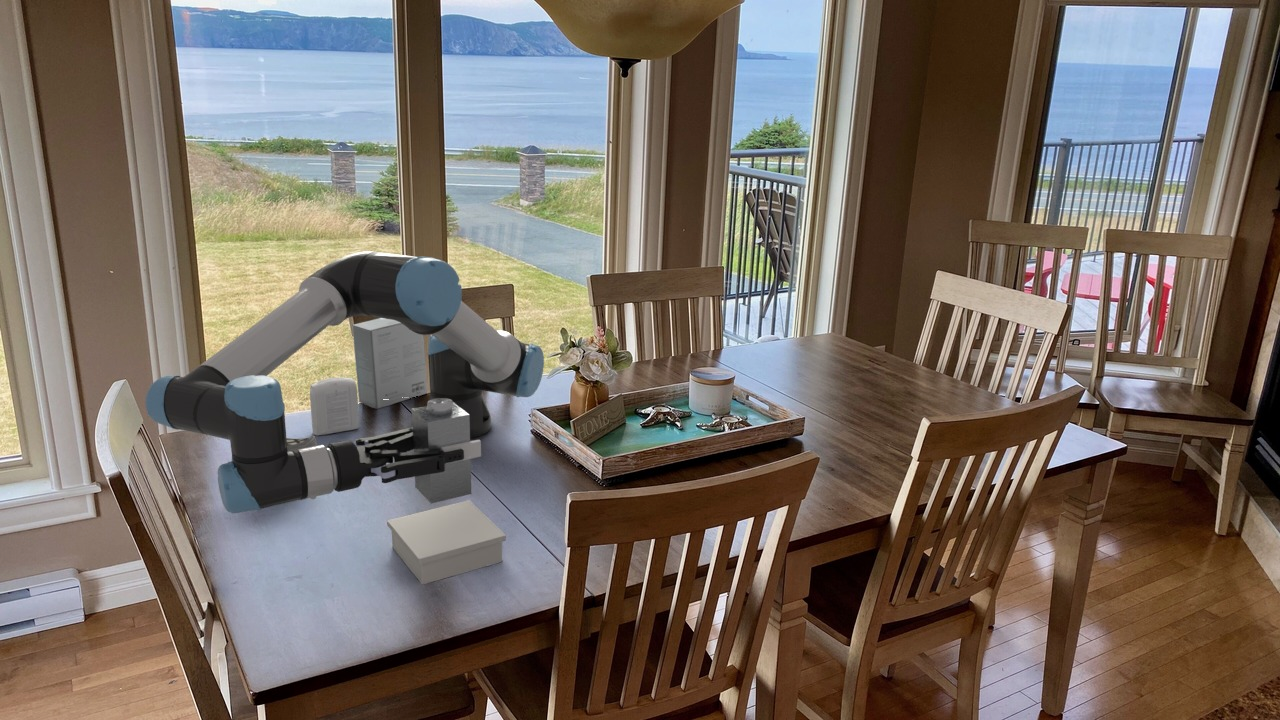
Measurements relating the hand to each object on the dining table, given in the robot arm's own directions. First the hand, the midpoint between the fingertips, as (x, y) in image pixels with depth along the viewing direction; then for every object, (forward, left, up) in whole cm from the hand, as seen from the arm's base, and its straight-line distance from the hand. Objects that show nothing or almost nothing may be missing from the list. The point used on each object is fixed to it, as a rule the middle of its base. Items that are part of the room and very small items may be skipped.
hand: (470, 440), depth 152 cm
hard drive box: (-13, -78, -20) cm, 82 cm away
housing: (+5, 0, -8) cm, 9 cm away
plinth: (+5, 0, -20) cm, 20 cm away
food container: (+22, -39, -20) cm, 49 cm away
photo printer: (+5, -64, -20) cm, 67 cm away
